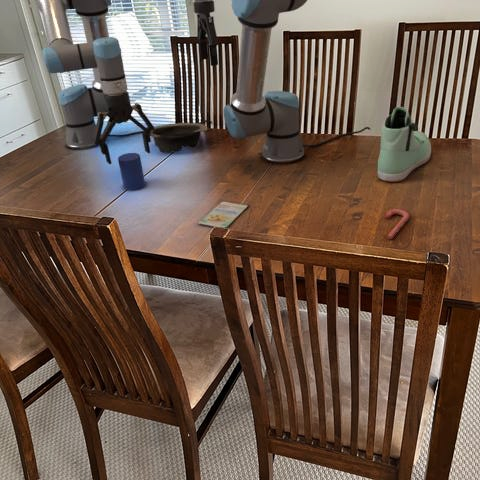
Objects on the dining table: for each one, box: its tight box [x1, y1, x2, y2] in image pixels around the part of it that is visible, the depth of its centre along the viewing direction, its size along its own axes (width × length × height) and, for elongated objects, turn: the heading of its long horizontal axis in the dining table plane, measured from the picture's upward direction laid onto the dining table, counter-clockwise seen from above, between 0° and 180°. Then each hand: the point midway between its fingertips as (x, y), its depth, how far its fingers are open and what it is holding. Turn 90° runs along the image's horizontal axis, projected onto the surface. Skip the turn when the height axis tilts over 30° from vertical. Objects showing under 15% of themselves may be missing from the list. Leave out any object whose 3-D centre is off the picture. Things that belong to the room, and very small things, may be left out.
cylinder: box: [117, 152, 146, 191], centre depth 160 cm, size 7×7×11 cm
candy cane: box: [385, 208, 410, 240], centre depth 129 cm, size 6×15×2 cm, turn 145°
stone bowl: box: [150, 122, 208, 154], centre depth 192 cm, size 25×25×9 cm
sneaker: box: [376, 106, 432, 183], centre depth 158 cm, size 14×35×20 cm, turn 152°
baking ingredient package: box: [198, 201, 249, 228], centre depth 141 cm, size 9×1×15 cm
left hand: (128, 157), depth 158 cm, fingers open, 13 cm apart
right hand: (209, 62), depth 184 cm, fingers open, 13 cm apart
